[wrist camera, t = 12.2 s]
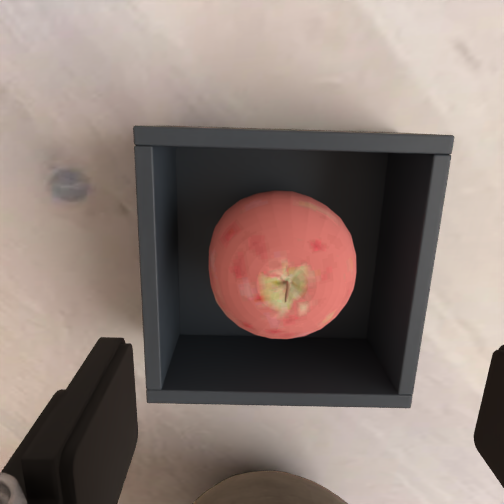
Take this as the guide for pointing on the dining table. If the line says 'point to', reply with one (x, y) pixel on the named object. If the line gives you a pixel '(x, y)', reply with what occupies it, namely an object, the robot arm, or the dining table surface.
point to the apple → (281, 264)
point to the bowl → (268, 490)
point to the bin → (364, 240)
